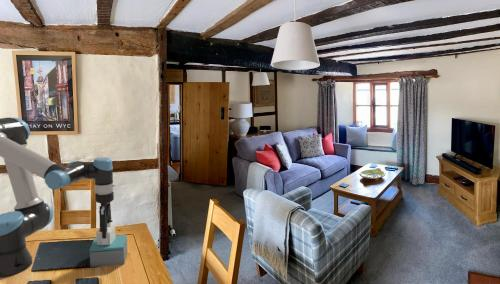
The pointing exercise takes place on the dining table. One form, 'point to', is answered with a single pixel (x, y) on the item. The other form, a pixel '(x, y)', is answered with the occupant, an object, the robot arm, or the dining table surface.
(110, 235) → the light grey cube
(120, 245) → the lid
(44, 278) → the dining table surface
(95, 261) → the box
